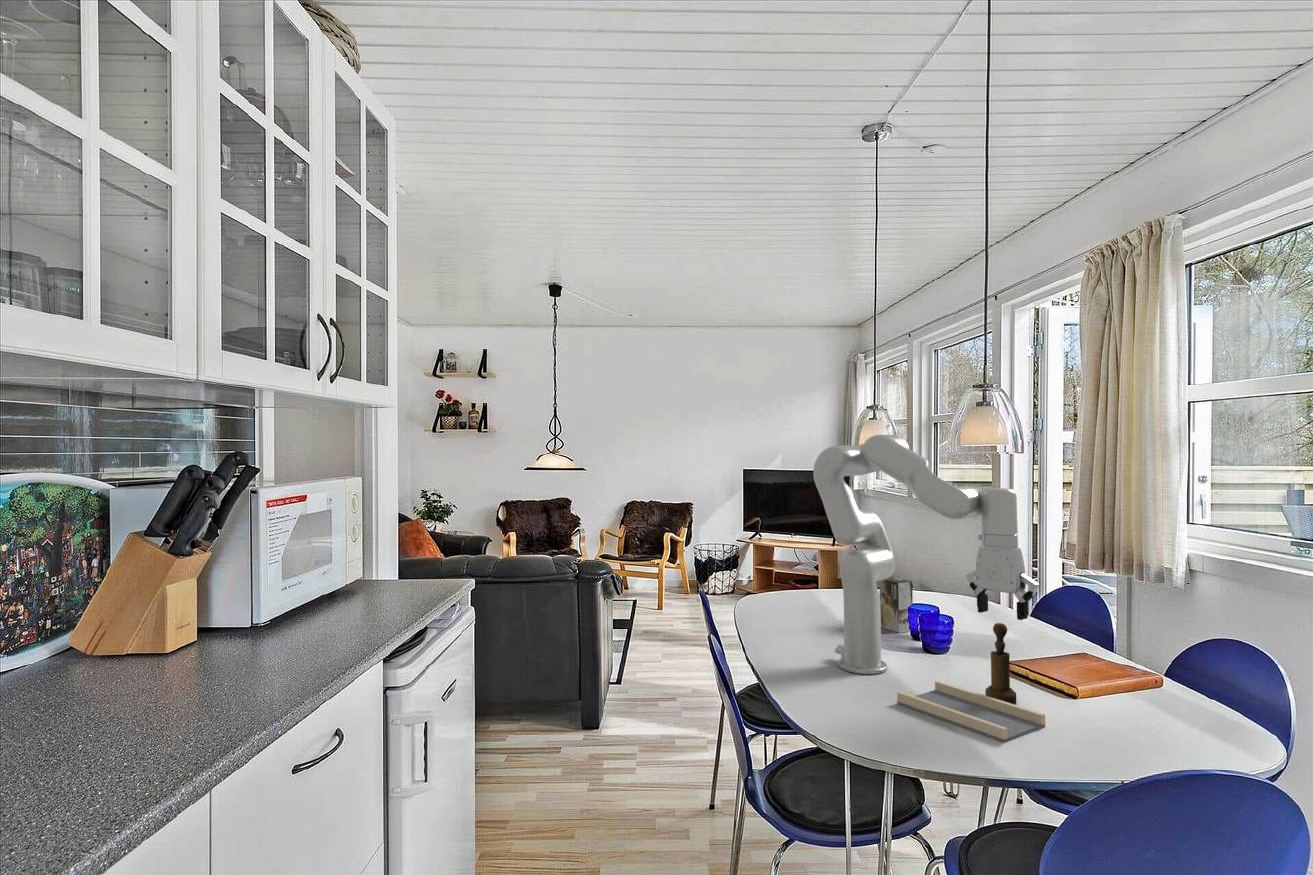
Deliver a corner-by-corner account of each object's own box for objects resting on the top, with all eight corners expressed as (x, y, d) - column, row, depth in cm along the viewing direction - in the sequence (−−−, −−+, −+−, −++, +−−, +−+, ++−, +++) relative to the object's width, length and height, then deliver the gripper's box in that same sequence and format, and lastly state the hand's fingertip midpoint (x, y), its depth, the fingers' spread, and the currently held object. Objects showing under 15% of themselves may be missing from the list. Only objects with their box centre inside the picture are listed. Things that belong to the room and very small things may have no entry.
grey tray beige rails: (897, 703, 166) (897, 692, 166) (938, 691, 174) (938, 680, 174) (1004, 742, 144) (1003, 729, 144) (1045, 726, 152) (1045, 714, 152)
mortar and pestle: (978, 698, 170) (978, 621, 170) (1000, 694, 172) (999, 619, 172) (1001, 707, 163) (1000, 628, 164) (1023, 704, 166) (1022, 625, 166)
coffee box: (914, 631, 231) (913, 581, 231) (898, 633, 228) (898, 582, 229) (893, 624, 240) (893, 576, 240) (878, 626, 237) (878, 577, 237)
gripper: (957, 539, 173) (959, 611, 173) (1027, 546, 159) (1029, 624, 158) (975, 537, 177) (977, 607, 177) (1045, 543, 163) (1048, 619, 162)
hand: (1002, 615), depth 168 cm, fingers open, 9 cm apart
